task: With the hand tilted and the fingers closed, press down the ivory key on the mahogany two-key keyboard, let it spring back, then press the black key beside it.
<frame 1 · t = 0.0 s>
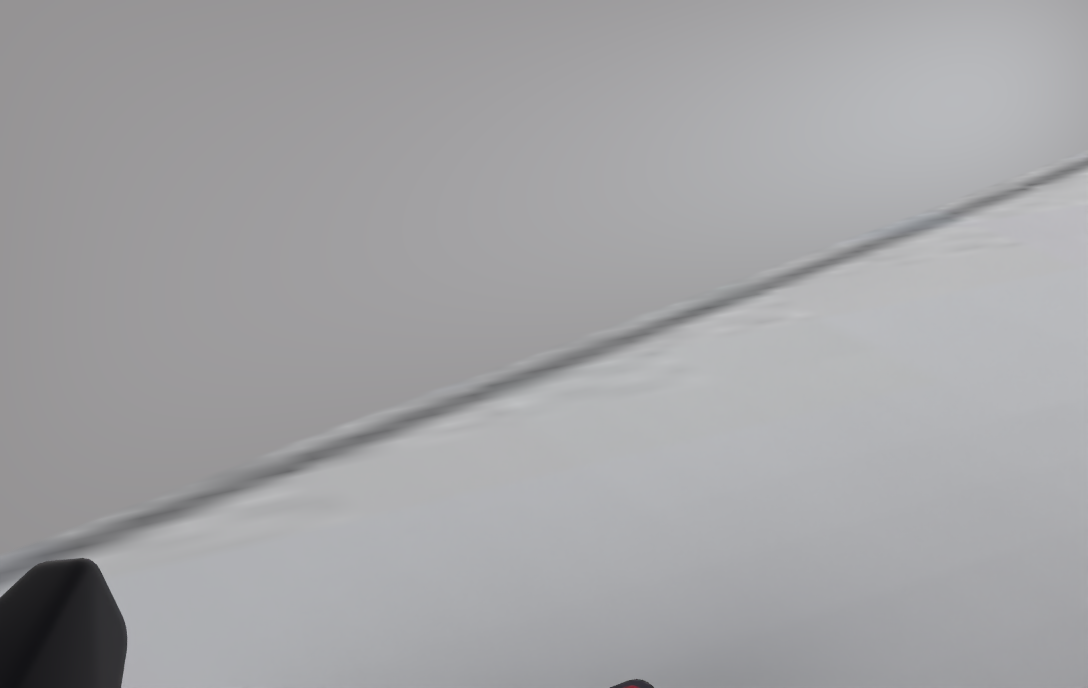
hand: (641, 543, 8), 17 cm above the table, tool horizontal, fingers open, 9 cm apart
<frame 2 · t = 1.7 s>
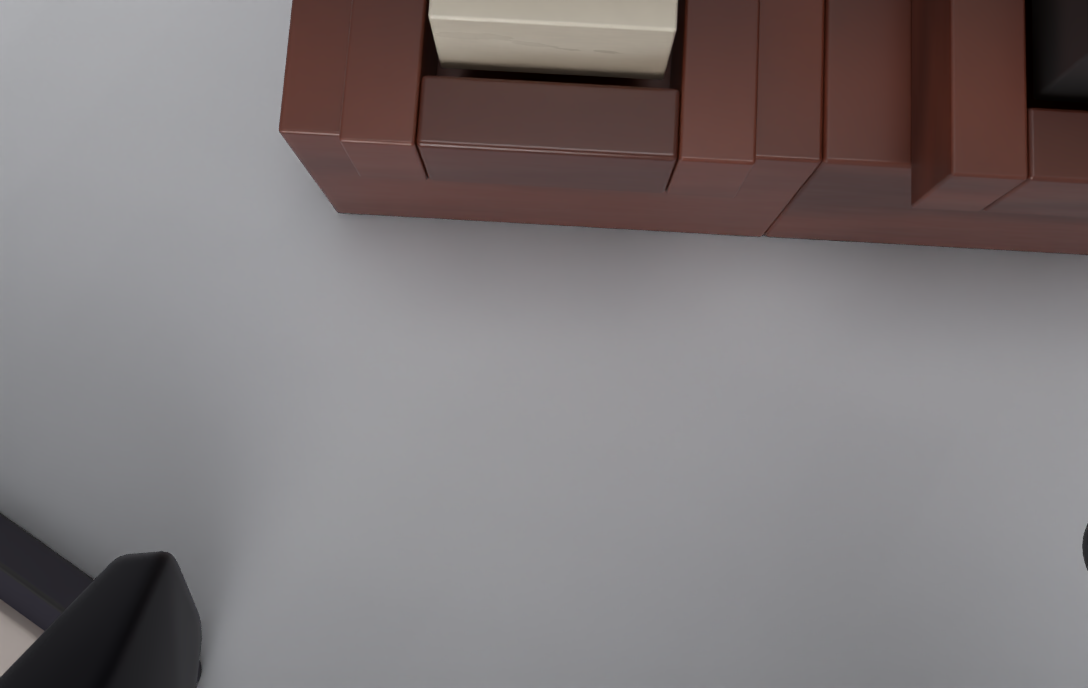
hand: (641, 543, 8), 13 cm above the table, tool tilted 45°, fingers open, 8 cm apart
brown boxy piece: (975, 58, 23), on the table
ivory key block: (560, 36, 23), on the table
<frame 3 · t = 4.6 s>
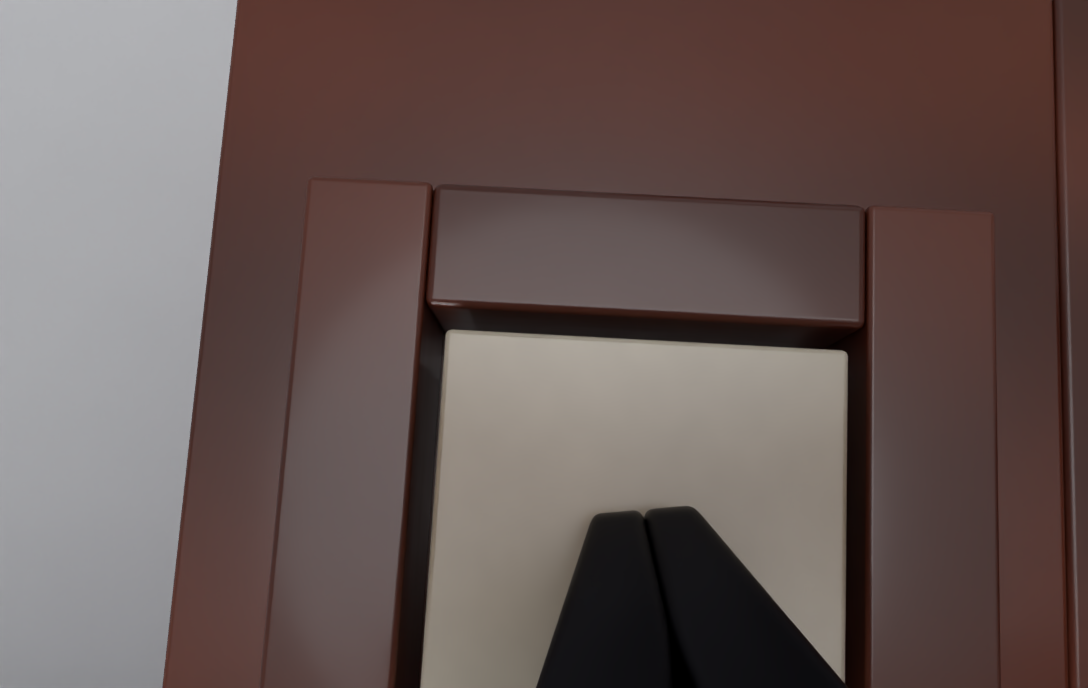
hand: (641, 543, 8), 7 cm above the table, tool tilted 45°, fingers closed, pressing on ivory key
ivory key: (630, 540, 10), point 6 cm above the table, slide at -1.0 cm, touching gripper
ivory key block: (604, 397, 16), on the table
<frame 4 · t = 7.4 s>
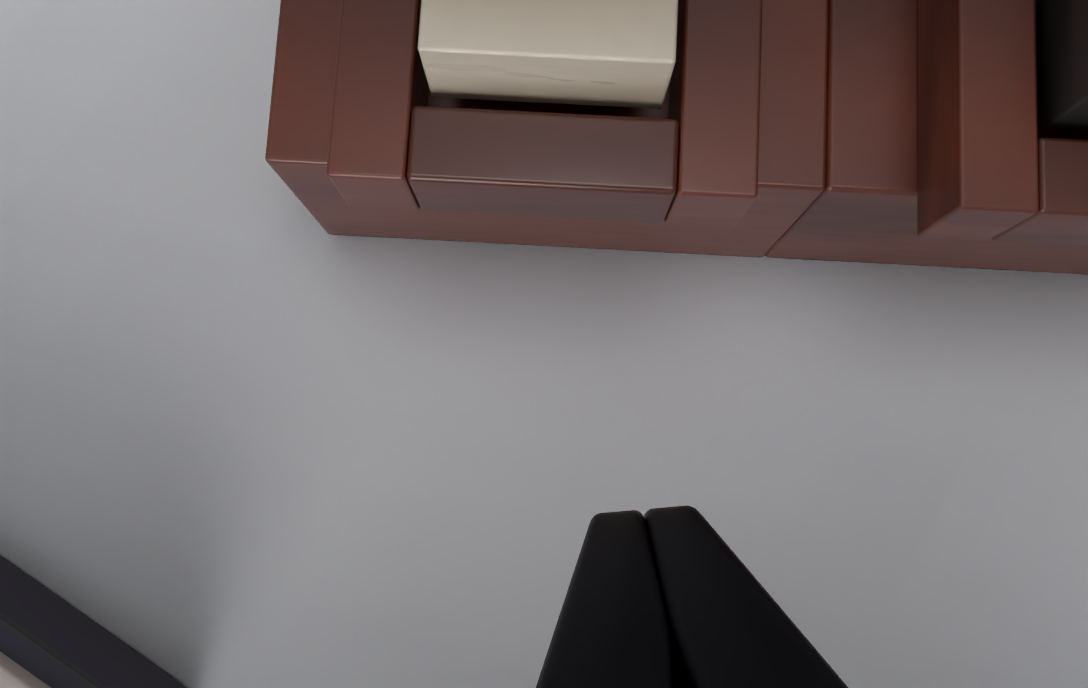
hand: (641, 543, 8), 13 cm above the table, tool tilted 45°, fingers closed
brown boxy piece: (981, 72, 22), on the table
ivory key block: (556, 50, 23), on the table
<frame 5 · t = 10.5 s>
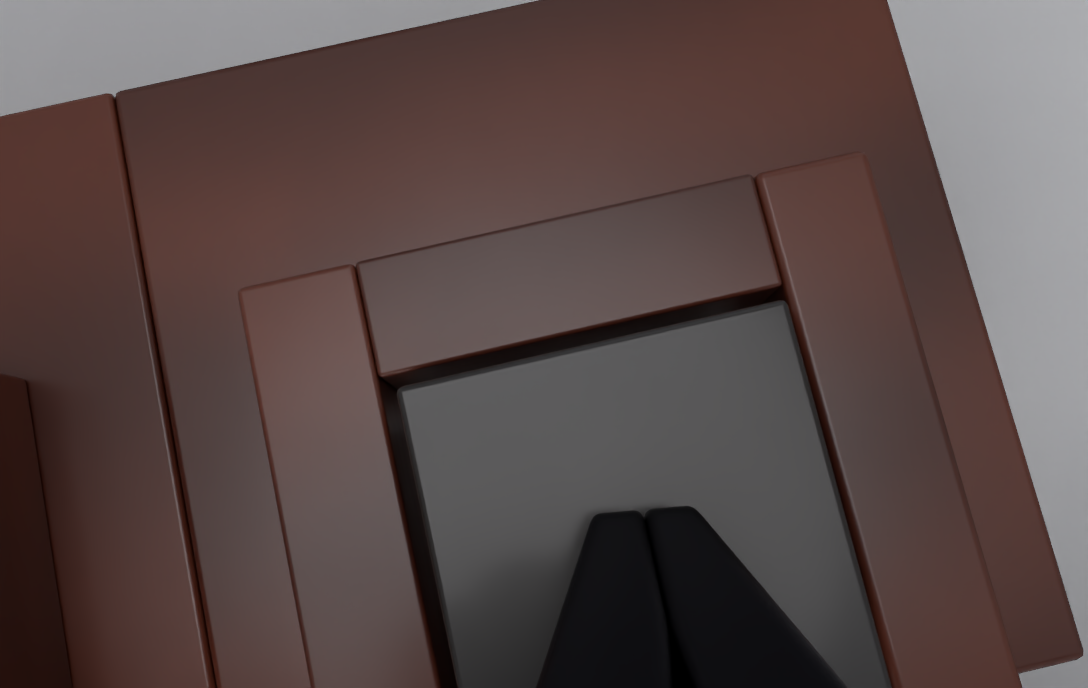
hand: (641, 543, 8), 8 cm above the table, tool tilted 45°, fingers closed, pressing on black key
black key: (632, 538, 10), point 6 cm above the table, slide at -0.4 cm, touching gripper
brown boxy piece: (569, 402, 17), on the table
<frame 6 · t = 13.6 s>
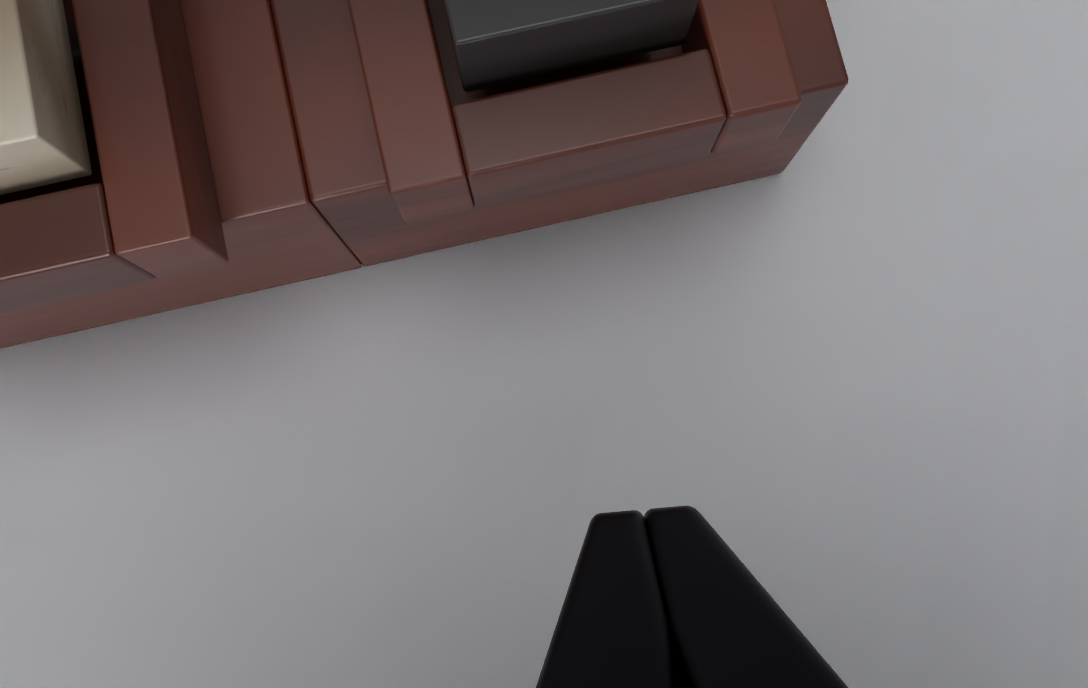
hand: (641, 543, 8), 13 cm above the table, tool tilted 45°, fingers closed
brown boxy piece: (529, 31, 23), on the table
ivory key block: (114, 122, 22), on the table
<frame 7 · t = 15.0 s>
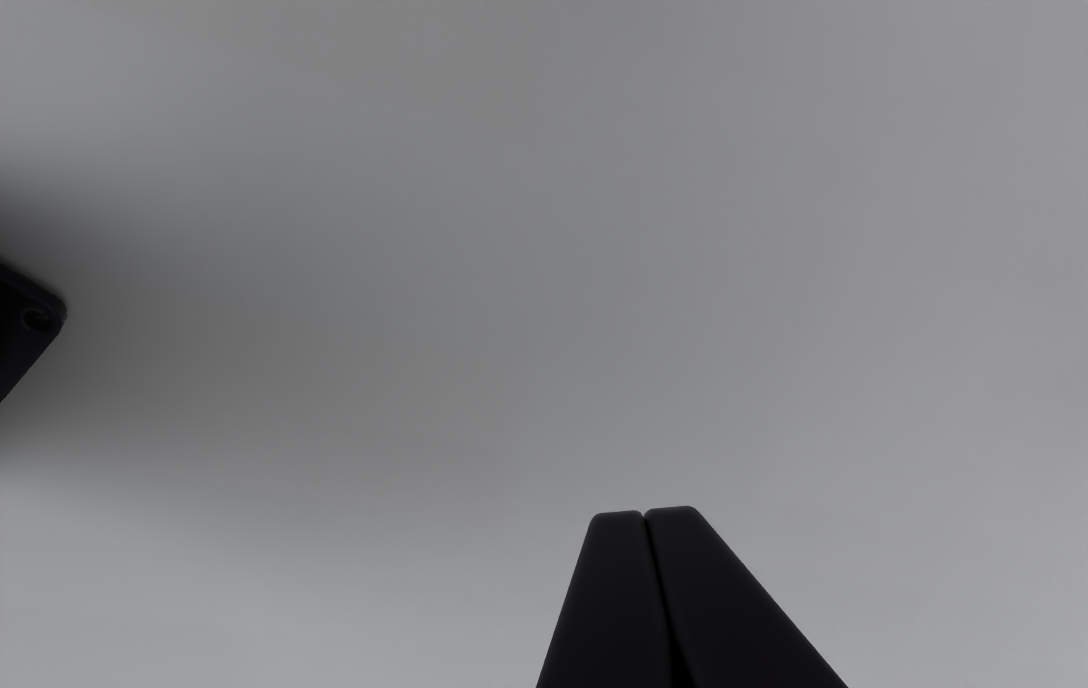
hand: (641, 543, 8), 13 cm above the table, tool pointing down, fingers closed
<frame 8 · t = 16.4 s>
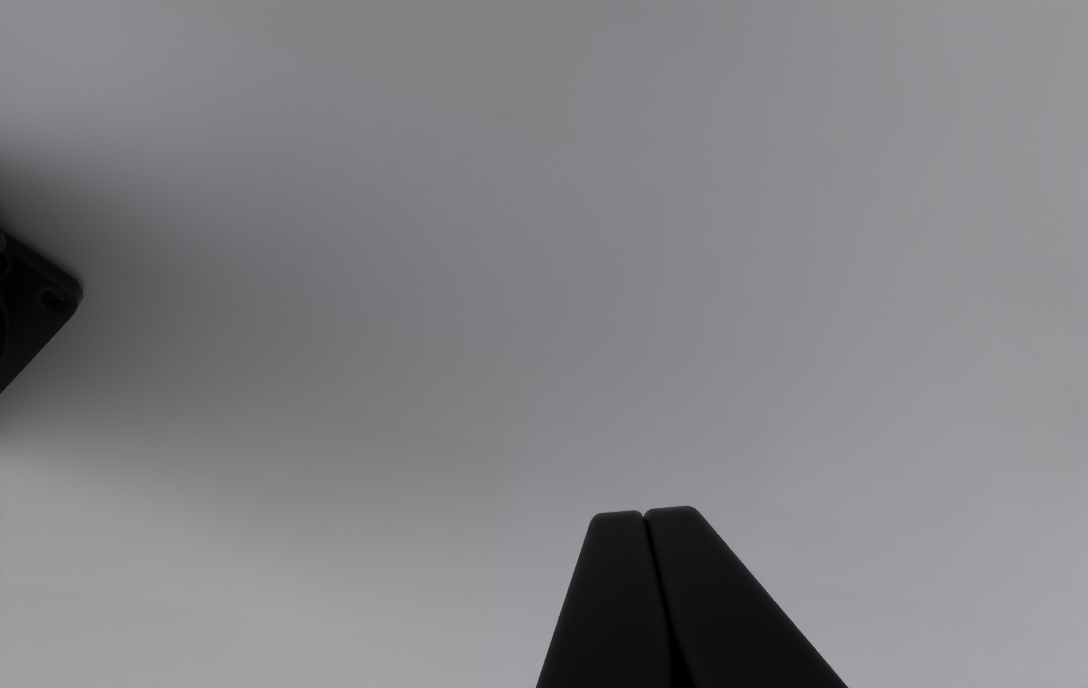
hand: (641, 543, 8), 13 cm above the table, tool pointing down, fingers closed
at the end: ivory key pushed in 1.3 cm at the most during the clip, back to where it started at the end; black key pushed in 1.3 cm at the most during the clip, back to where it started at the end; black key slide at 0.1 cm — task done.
